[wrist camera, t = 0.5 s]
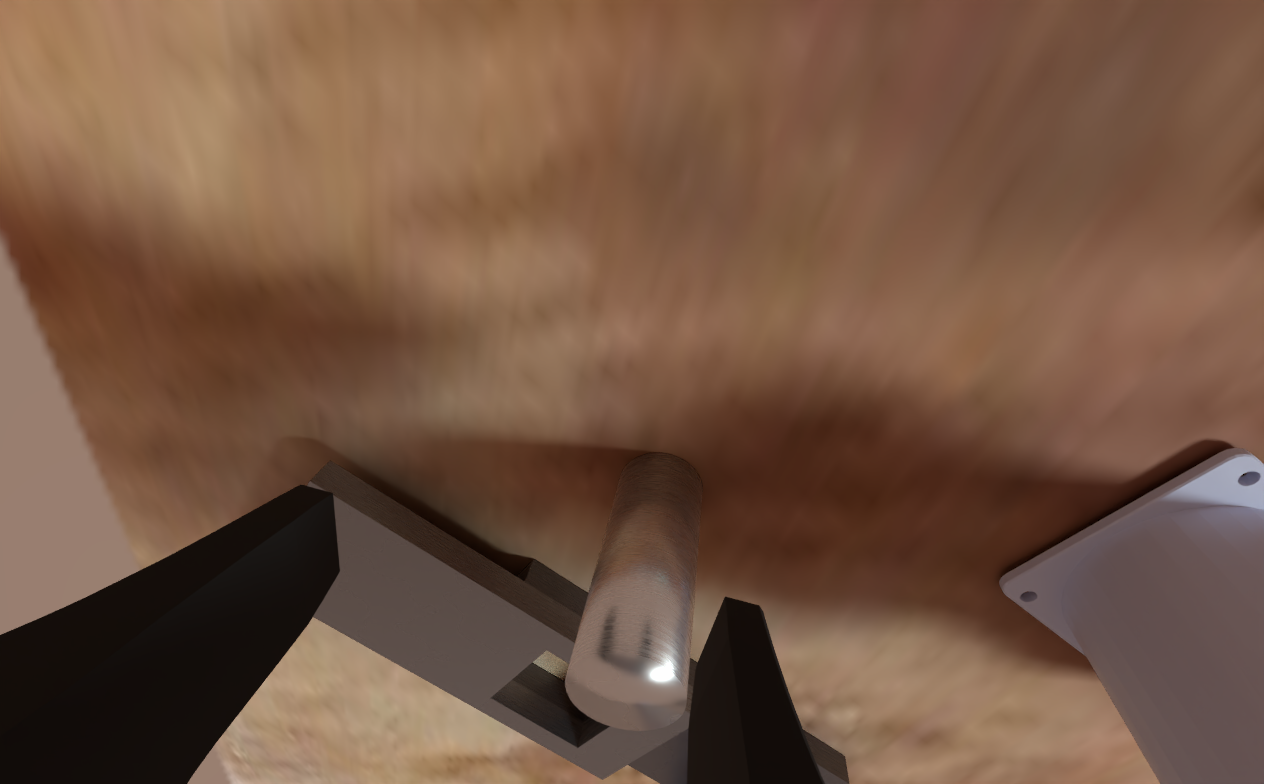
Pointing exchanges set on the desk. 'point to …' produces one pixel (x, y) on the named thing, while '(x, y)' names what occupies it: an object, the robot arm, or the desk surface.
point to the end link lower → (673, 754)
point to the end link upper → (461, 623)
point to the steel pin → (641, 600)
